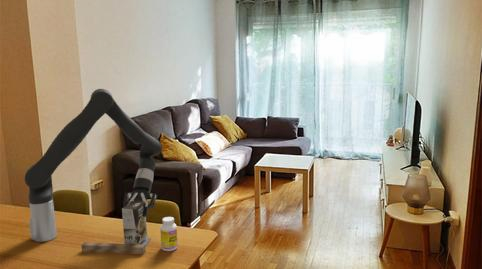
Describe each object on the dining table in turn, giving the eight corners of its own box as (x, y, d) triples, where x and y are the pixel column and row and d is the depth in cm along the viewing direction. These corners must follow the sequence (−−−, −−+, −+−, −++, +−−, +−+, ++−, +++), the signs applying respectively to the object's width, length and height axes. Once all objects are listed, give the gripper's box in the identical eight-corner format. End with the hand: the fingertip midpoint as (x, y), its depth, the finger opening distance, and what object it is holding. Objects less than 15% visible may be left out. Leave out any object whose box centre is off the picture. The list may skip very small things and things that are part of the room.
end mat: (121, 249, 163) (121, 248, 163) (130, 238, 173) (130, 237, 173) (142, 250, 162) (142, 249, 162) (150, 239, 172) (150, 238, 172)
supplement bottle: (169, 253, 159) (167, 223, 157) (158, 249, 163) (156, 219, 161) (181, 246, 165) (179, 217, 162) (169, 242, 169) (168, 214, 166)
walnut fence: (82, 251, 162) (81, 245, 161) (84, 249, 164) (84, 242, 164) (143, 254, 159) (142, 247, 158) (145, 251, 161) (145, 244, 161)
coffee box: (138, 246, 162) (135, 209, 159) (124, 245, 164) (120, 208, 161) (147, 236, 171) (145, 201, 168) (134, 235, 173) (131, 200, 169)
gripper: (125, 176, 174) (116, 212, 164) (157, 177, 172) (149, 213, 163) (131, 184, 180) (122, 219, 171) (161, 184, 178) (154, 220, 169)
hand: (135, 216), depth 167 cm, fingers closed on coffee box, 6 cm apart
